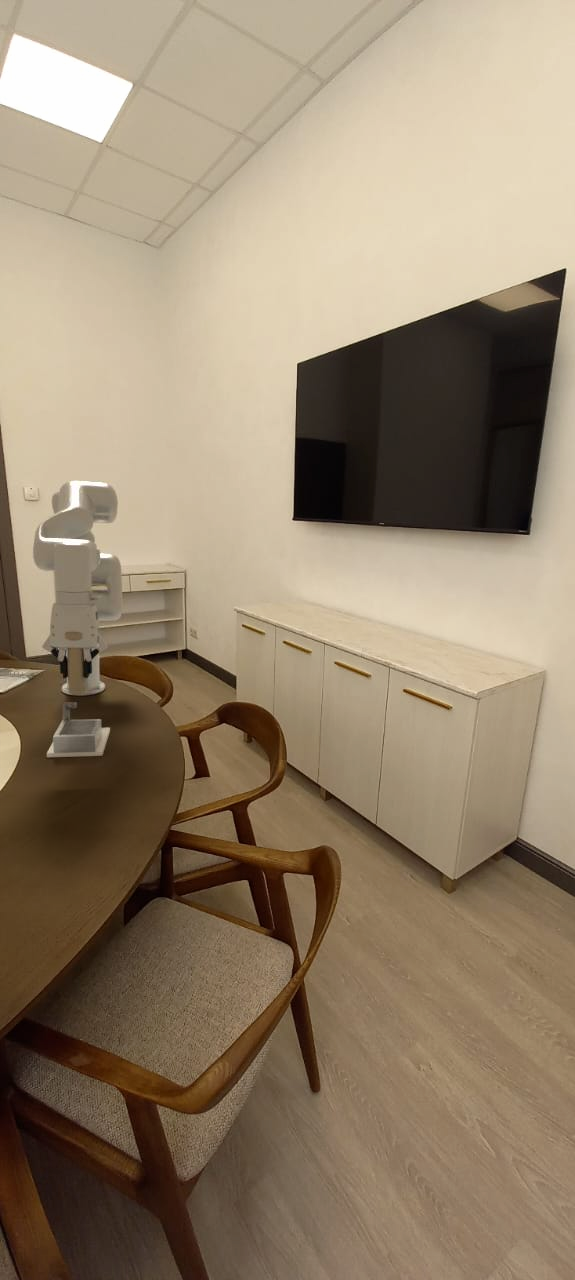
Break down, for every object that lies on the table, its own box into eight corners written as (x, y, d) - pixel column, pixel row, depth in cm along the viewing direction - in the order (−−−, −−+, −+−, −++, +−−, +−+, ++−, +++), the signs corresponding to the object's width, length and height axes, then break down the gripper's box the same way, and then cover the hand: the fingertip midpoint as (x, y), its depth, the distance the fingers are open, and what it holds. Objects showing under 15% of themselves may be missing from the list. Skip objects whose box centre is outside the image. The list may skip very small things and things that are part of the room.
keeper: (60, 732, 131) (59, 699, 129) (110, 731, 133) (109, 699, 131) (46, 757, 118) (45, 721, 116) (102, 755, 120) (101, 720, 118)
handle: (88, 688, 124) (87, 627, 121) (87, 697, 118) (85, 633, 115) (67, 689, 123) (64, 627, 119) (64, 698, 117) (61, 633, 113)
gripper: (115, 596, 121) (116, 671, 125) (38, 594, 117) (41, 671, 121) (110, 602, 113) (112, 681, 118) (28, 599, 110) (33, 681, 114)
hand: (76, 675), depth 119 cm, fingers closed on handle, 3 cm apart
